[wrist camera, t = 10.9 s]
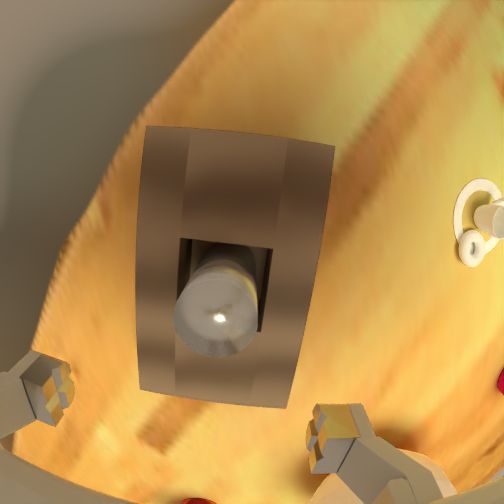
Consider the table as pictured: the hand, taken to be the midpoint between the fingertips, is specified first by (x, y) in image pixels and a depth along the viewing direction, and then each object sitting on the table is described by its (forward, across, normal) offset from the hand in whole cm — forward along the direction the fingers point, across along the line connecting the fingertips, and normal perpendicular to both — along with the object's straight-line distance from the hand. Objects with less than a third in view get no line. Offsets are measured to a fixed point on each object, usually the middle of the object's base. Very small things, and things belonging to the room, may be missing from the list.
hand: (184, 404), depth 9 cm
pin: (+17, 0, +1) cm, 17 cm away
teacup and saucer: (+19, -21, -6) cm, 29 cm away
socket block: (+18, 0, +1) cm, 18 cm away
